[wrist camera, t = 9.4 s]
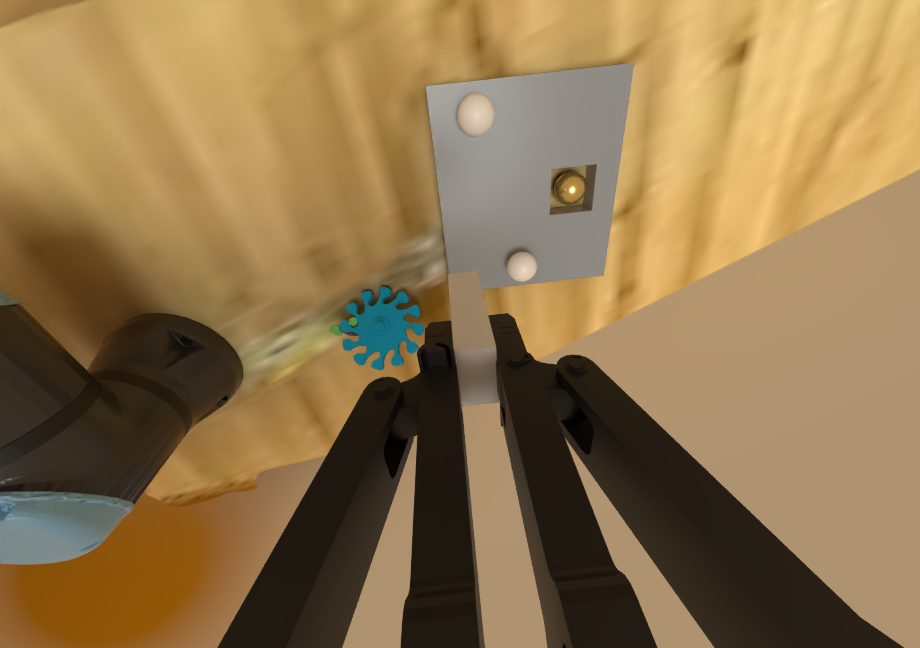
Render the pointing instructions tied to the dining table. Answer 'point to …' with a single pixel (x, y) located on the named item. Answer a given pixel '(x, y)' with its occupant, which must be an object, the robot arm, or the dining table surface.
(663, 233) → the dining table surface
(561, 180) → the ball
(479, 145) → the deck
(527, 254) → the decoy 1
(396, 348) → the gear
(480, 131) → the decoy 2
